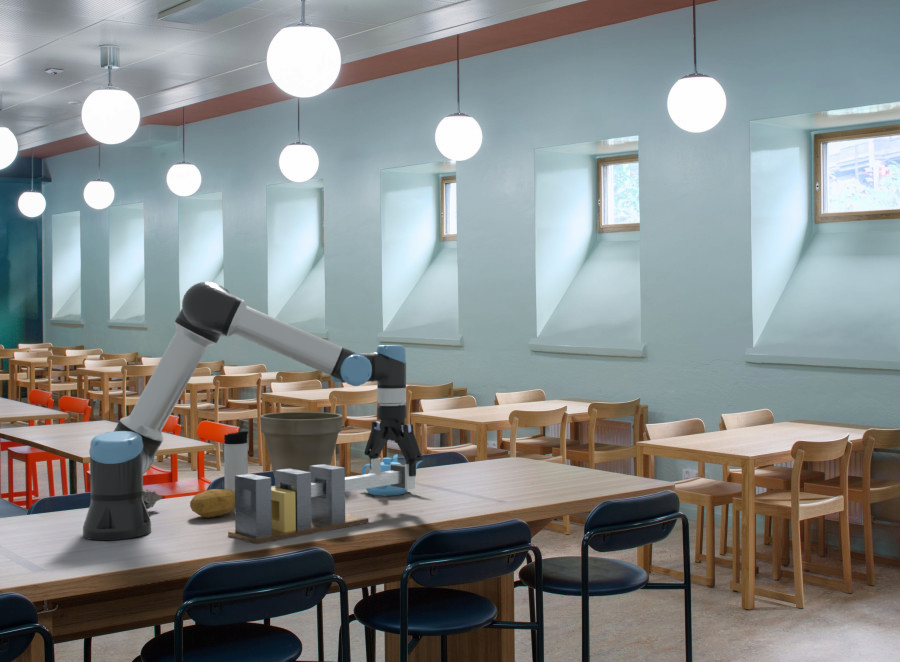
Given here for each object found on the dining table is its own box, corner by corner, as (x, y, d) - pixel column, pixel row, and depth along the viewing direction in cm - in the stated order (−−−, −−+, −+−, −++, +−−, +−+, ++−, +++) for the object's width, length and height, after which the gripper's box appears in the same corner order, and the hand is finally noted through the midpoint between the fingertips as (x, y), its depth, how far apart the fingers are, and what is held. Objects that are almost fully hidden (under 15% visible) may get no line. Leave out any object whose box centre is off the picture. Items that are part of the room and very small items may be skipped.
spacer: (284, 532, 219) (284, 493, 219) (264, 526, 226) (263, 488, 226) (295, 530, 221) (295, 491, 221) (274, 524, 228) (274, 487, 228)
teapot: (354, 492, 279) (353, 456, 279) (399, 487, 286) (399, 452, 286) (376, 499, 266) (375, 462, 266) (423, 494, 274) (422, 458, 274)
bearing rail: (256, 543, 212) (255, 481, 212) (228, 535, 221) (227, 475, 220) (368, 522, 234) (368, 465, 234) (338, 515, 243) (338, 461, 243)
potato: (185, 516, 245) (185, 489, 245) (234, 510, 251) (234, 484, 251) (195, 522, 237) (194, 494, 237) (245, 516, 243) (244, 489, 243)
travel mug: (243, 506, 257) (242, 432, 257) (220, 505, 259) (220, 432, 258) (252, 502, 263) (252, 429, 263) (230, 501, 265) (229, 429, 265)
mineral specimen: (130, 530, 251) (151, 524, 245) (107, 513, 248) (127, 506, 242) (148, 500, 258) (169, 493, 252) (125, 483, 254) (145, 475, 248)
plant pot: (359, 482, 295) (358, 412, 295) (308, 495, 273) (307, 419, 273) (296, 477, 307) (295, 410, 307) (243, 488, 286) (242, 416, 286)
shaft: (299, 505, 224) (298, 482, 224) (285, 502, 228) (285, 479, 228) (410, 487, 248) (410, 465, 248) (396, 485, 252) (396, 463, 252)
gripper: (435, 405, 241) (436, 489, 241) (372, 401, 259) (373, 479, 259) (413, 407, 236) (413, 493, 236) (350, 402, 254) (351, 482, 254)
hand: (392, 486), depth 247 cm, fingers open, 13 cm apart
